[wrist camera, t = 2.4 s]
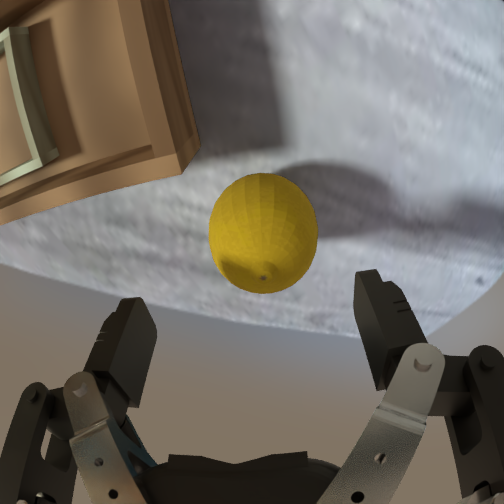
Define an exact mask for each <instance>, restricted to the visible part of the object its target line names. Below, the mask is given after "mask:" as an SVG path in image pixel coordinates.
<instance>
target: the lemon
mask: <svg viewBox="0 0 504 504" xmlns="http://www.w3.org/2000/svg"><path fill="white" fill-rule="evenodd" d="M317 239H318V226H317V221H316V216H315V212H314V209H313V207H312V205H311V203H310V202H309V200H308V198H307V196H306V195H305V194H304V193H303V192H302V191H301V190H300V188H299V187H298V186H297V185H296V184H294V183H292V182H291V181H289V180H287V179H286V178H284V177H281V176H278V175H275V174H269V173H257V174H251V175H247V176H245V177H243V178H240V179H238V180H236V181H235V182H234V183H232V184H231V185H230V186H229V187H227V188H226V189H225V190H224V191H223V193H222V194H221V196H220V197H219V198H218V200H217V201H216V203H215V205H214V208H213V211H212V214H211V217H210V221H209V244H210V249H211V253H212V256H213V260H214V262H215V264H216V265H217V267H218V269H219V270H220V272H221V274H222V275H223V276H224V277H225V278H226V279H227V280H229V281H230V282H231V283H232V284H234V285H235V286H237V287H238V288H240V289H243V290H246V291H249V292H252V293H259V294H266V293H274V292H278V291H282V290H284V289H286V288H288V287H290V286H292V285H293V284H295V283H296V282H297V281H298V280H300V279H301V278H302V277H303V275H304V274H305V273H306V272H307V270H308V269H309V267H310V265H311V263H312V261H313V258H314V256H315V253H316V248H317Z"/></svg>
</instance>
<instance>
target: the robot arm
mask: <svg viewBox="0 0 504 504" xmlns="http://www.w3.org/2000/svg"><path fill="white" fill-rule="evenodd" d="M353 308H354V316H355V320H356V323H357V326H358V329H359V332H360V336H361V339H362V342H363V345H364V349H365V352H366V355H367V359H368V362H369V366H370V369H371V373H372V376H373V379H374V383H375V387H376V390H377V391H379V390H384V389H386V393H385V395H384V397H383V399H382V401H381V403H380V405H379V406H378V407H377V408H376V410H375V411H374V413H373V415H372V417H371V419H370V420H369V422H368V424H367V426H366V428H365V429H364V431H363V433H362V435H361V437H360V438H359V440H358V441H357V443H356V445H355V447H354V448H353V450H352V451H351V453H350V455H349V456H348V458H347V459H346V461H345V463H344V464H343V466H342V467H341V468H340V467H338V466H336V465H334V464H332V463H329V462H325V461H322V460H318V459H311V458H307V457H308V456H307V451H303V452H295V453H284V454H271V455H268V456H265V457H261V458H258V459H254V460H250V461H246V462H243V463H239V464H231V463H226V462H222V461H218V460H214V459H210V458H206V457H203V456H190V455H173V454H169V458H168V462H166V463H162V464H159V465H158V464H157V463H156V462H155V460H154V459H153V458H152V457H151V456H150V455H149V453H148V452H147V450H146V448H145V447H144V445H143V443H142V441H141V439H140V437H139V436H138V434H137V432H136V430H135V428H134V426H133V424H132V422H131V420H130V418H129V416H128V415H127V414H126V412H127V408H128V407H135V408H139V405H140V400H141V396H142V392H143V388H144V384H145V381H146V377H147V372H148V369H149V365H150V362H151V358H152V354H153V351H154V347H155V344H156V339H157V329H156V325H155V323H154V321H153V319H152V317H151V315H150V313H149V311H148V309H147V307H146V305H145V303H144V301H143V299H142V298H141V297H135V298H124V299H122V300H121V301H120V303H119V305H118V307H117V310H116V312H112V313H111V315H110V316H109V317H108V318H107V319H106V320H105V321H104V323H103V325H102V328H101V330H100V334H99V335H98V337H97V339H96V342H95V343H94V346H93V348H92V351H91V353H90V355H89V358H88V361H87V362H86V365H85V367H84V370H83V372H78V373H76V374H74V375H72V376H71V377H70V378H69V379H68V380H67V381H66V383H65V385H64V387H61V388H57V389H53V390H48V388H47V387H46V386H45V385H43V384H42V383H40V382H35V383H32V384H30V385H29V386H28V387H27V388H26V389H25V390H24V391H23V393H22V395H21V398H20V401H19V403H18V406H17V409H16V411H15V414H14V417H13V419H12V422H11V425H10V428H9V431H8V434H7V437H6V440H5V444H4V447H3V450H2V454H1V457H0V504H72V497H73V491H74V485H75V479H76V474H77V469H78V470H79V472H80V475H81V478H82V480H83V483H84V485H85V487H86V490H87V492H88V495H89V497H90V499H91V502H92V504H389V502H390V500H391V498H392V497H393V495H394V493H395V491H396V489H397V488H398V486H399V484H400V482H401V480H402V478H403V476H404V475H405V473H406V470H407V469H408V466H409V464H410V462H411V460H412V458H413V456H414V454H415V451H416V449H417V447H418V445H419V443H420V440H421V438H422V436H423V433H424V430H425V428H426V419H427V416H444V418H445V421H446V425H447V429H448V433H449V437H450V441H451V445H452V450H453V454H454V459H455V463H456V468H457V473H458V478H459V483H460V489H461V494H462V499H461V500H460V501H459V502H458V503H457V504H504V357H503V355H502V354H501V353H500V352H499V351H498V350H497V349H496V348H494V347H491V346H488V345H482V346H478V347H476V348H474V349H473V350H472V352H471V353H470V355H469V356H448V355H443V354H442V352H441V351H440V350H439V349H438V348H437V347H435V346H433V345H431V344H428V342H427V340H426V338H425V336H424V334H423V332H422V329H421V327H420V325H419V323H418V321H417V319H416V317H415V315H414V313H413V311H412V310H411V307H410V305H409V303H408V302H407V299H406V297H405V295H404V293H403V292H402V290H401V289H400V288H399V287H398V286H397V285H396V284H394V283H393V282H392V281H387V282H383V281H382V279H381V277H380V275H379V273H378V271H377V270H376V269H372V270H366V271H359V272H356V274H355V286H354V301H353ZM46 429H47V430H48V431H50V432H51V433H52V434H51V438H50V442H49V445H48V449H47V453H46V457H45V460H44V459H43V458H42V456H41V452H40V451H41V446H42V442H43V438H44V435H45V431H46Z"/></svg>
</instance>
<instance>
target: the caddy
mask: <svg viewBox="0 0 504 504" xmlns="http://www.w3.org/2000/svg"><path fill="white" fill-rule="evenodd" d="M200 147H201V144H200V140H199V136H198V132H197V128H196V124H195V119H194V115H193V111H192V107H191V102H190V98H189V94H188V89H187V85H186V80H185V76H184V72H183V67H182V63H181V58H180V54H179V49H178V45H177V40H176V35H175V31H174V26H173V21H172V17H171V12H170V7H169V2H168V0H0V225H3V224H6V223H8V222H11V221H14V220H17V219H20V218H23V217H26V216H28V215H31V214H34V213H37V212H41V211H44V210H47V209H50V208H53V207H56V206H60V205H63V204H66V203H69V202H73V201H76V200H80V199H83V198H87V197H90V196H94V195H98V194H101V193H105V192H109V191H112V190H116V189H120V188H124V187H128V186H132V185H136V184H140V183H145V182H149V181H153V180H158V179H162V178H167V177H171V176H176V175H181V174H182V173H183V172H184V170H185V169H186V167H187V166H188V164H189V163H190V161H191V160H192V158H193V157H194V155H195V154H196V152H197V151H198V149H199V148H200Z"/></svg>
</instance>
